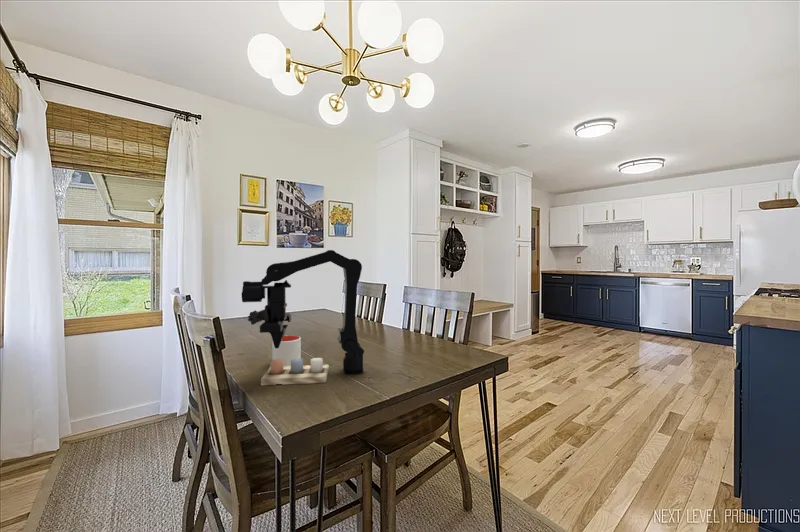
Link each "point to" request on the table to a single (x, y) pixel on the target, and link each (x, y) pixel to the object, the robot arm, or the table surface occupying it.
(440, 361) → the table surface
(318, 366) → the button cream
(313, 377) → the board
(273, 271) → the robot arm
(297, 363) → the button slate
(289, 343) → the cup
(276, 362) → the button terracotta
